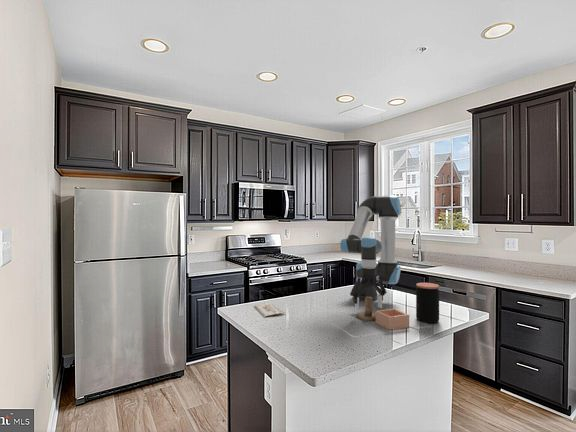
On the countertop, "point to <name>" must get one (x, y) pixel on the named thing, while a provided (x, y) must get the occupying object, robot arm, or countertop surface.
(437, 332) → the countertop surface
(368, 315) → the lid
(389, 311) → the pink open box
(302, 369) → the countertop surface
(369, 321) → the mat
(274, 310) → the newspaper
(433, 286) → the coffee jar
